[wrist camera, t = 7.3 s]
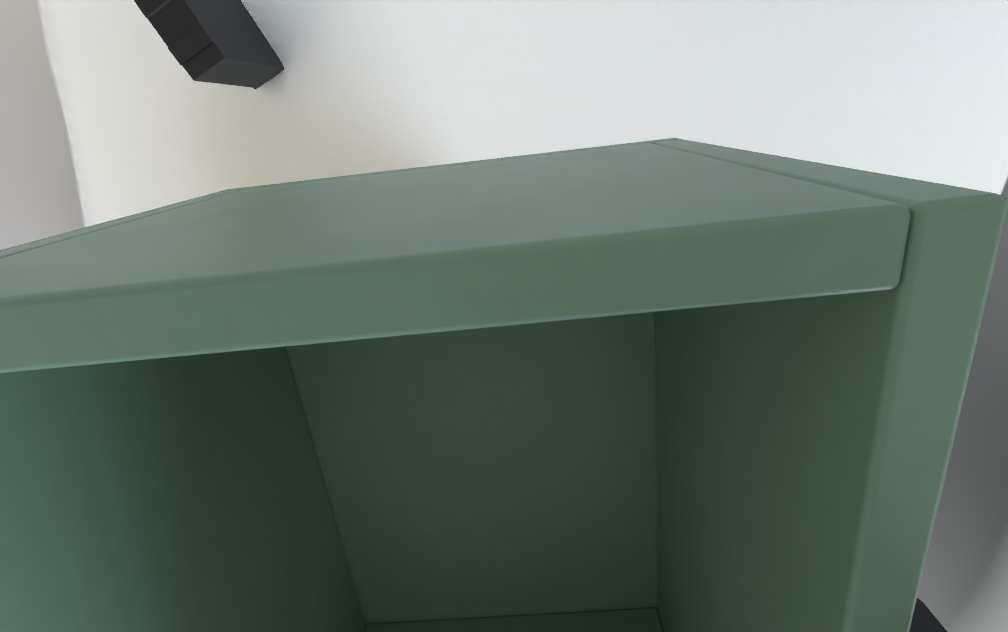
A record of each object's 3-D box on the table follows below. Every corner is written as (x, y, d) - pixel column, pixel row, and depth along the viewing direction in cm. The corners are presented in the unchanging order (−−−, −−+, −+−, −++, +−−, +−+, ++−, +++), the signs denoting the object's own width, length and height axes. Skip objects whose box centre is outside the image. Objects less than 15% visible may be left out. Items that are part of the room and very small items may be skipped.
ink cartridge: (209, 15, 33) (120, -15, 26) (237, -6, 33) (155, -43, 25) (259, 89, 34) (188, 81, 27) (286, 70, 34) (222, 57, 27)
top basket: (665, 135, 13) (1017, 192, 4) (666, 580, 19) (813, 1052, 9) (245, 184, 14) (-309, 331, 5) (363, 598, 19) (217, 1053, 10)
